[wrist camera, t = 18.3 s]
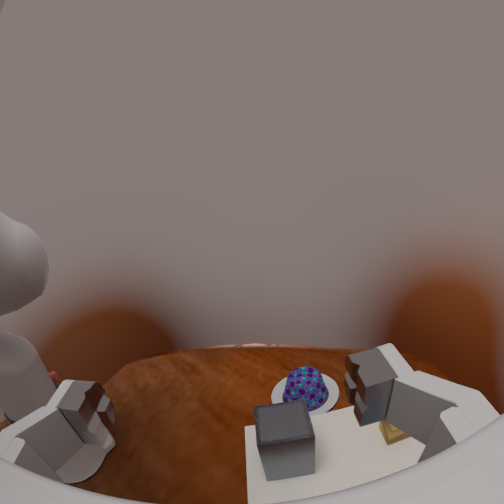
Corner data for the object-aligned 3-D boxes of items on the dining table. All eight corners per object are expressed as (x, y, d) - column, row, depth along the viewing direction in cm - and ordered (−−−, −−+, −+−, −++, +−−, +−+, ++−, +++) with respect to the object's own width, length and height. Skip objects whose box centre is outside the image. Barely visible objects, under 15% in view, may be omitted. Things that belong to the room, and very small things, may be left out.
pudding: (338, 420, 38) (339, 400, 37) (265, 419, 42) (261, 399, 40) (339, 373, 49) (339, 353, 48) (278, 374, 53) (275, 354, 51)
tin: (314, 473, 29) (315, 436, 26) (267, 481, 29) (256, 445, 26) (307, 440, 35) (304, 398, 32) (263, 447, 35) (253, 406, 32)
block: (411, 436, 30) (417, 420, 29) (387, 445, 30) (392, 430, 29) (401, 418, 34) (406, 402, 32) (378, 427, 34) (382, 411, 32)
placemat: (249, 513, 24) (248, 511, 24) (245, 429, 40) (244, 426, 39) (447, 456, 24) (449, 453, 24) (406, 392, 40) (407, 388, 39)
